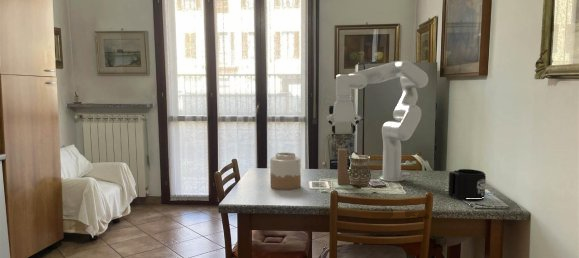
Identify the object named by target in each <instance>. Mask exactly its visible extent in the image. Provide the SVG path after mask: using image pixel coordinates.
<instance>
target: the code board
mask: <svg viewBox="0 0 579 258" xmlns="http://www.w3.org/2000/svg"><path fill="white" fill-rule="evenodd" d="M313 184H315V186H320V187H313ZM322 184H325V187H323V185H322ZM308 186H309V187H308V188H309V190H330V189H331V188H330V184H329V181H326V180H325V181H323V180H322V181H320V180H319V181H311V180H310V181H308Z"/></svg>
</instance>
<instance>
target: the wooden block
mask: <svg viewBox="0 0 579 258" xmlns="http://www.w3.org/2000/svg"><path fill="white" fill-rule="evenodd" d="M349 173H350V172H349V170H348V149H347V148H337V182H338V185H352V186H356V185H357V183H356V184H350V180H349Z"/></svg>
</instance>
